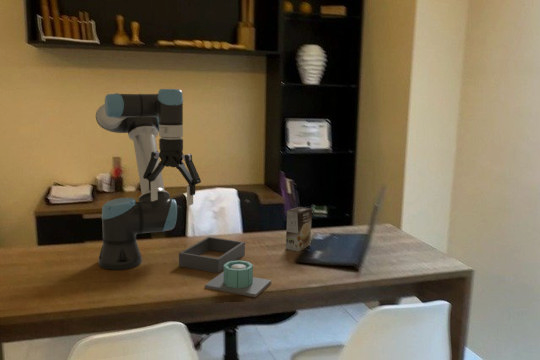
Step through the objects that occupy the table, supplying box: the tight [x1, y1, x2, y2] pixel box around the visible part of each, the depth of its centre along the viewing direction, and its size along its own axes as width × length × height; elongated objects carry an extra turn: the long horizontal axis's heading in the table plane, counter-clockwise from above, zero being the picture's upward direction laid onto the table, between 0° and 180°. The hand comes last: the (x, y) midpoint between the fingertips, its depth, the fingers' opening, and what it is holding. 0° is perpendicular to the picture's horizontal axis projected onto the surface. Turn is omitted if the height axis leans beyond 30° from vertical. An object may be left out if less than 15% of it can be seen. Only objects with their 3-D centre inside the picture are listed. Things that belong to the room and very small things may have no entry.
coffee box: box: [285, 206, 313, 252], centre depth 214 cm, size 9×6×16 cm
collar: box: [223, 259, 254, 288], centre depth 175 cm, size 9×9×6 cm
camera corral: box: [178, 236, 246, 274], centre depth 198 cm, size 16×22×5 cm
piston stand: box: [204, 264, 272, 298], centre depth 175 cm, size 18×13×6 cm
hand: (171, 202), depth 174 cm, fingers open, 13 cm apart
